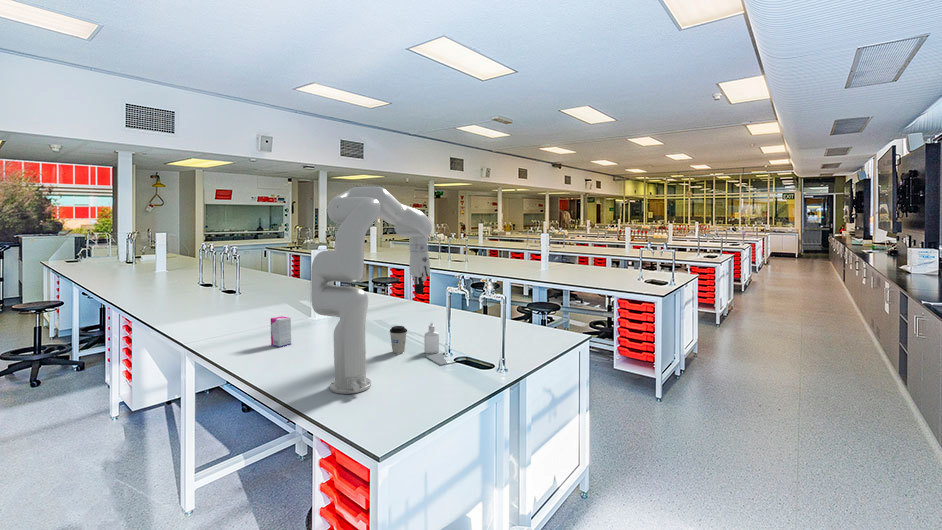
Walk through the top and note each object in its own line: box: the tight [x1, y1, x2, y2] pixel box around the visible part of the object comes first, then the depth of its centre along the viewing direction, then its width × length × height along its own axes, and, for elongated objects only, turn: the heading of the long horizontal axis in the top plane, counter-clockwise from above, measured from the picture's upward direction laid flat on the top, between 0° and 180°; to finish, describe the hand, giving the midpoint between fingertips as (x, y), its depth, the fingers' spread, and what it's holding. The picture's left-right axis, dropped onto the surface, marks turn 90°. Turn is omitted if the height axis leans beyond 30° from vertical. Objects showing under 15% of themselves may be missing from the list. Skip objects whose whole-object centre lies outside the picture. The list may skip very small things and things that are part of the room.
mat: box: [424, 352, 448, 366], centre depth 172 cm, size 12×10×1 cm
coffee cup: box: [389, 325, 408, 355], centre depth 180 cm, size 7×7×10 cm
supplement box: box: [270, 315, 292, 349], centre depth 188 cm, size 6×6×12 cm
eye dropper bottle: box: [423, 322, 440, 354], centre depth 180 cm, size 4×6×12 cm
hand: (419, 293), depth 188 cm, fingers closed
